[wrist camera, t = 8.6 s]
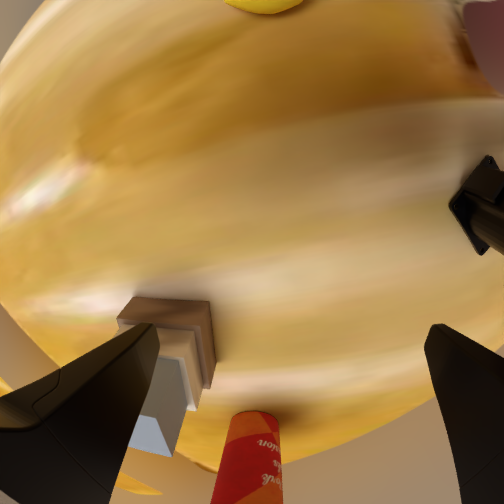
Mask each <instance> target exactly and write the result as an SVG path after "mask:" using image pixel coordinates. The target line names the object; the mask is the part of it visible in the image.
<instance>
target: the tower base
mask: <svg viewBox="0 0 504 504" xmlns="http://www.w3.org/2000/svg"><path fill="white" fill-rule="evenodd" d="M116 319H117V322H118V326H119V330H118V331H117V333H116V334H115V336H114V337H113V338H115V337H116V336H118V335H120V334H122V333H123V332H125V331H127V330H129V329H130V328H132V327H134V326H136V325H137V324H139V323H141V322H151V323H154V324H155V326H156V329H157V333H158V337H159V341H160V351H159V354H158V358H165V359H172V360H179V365H180V371H181V376H182V381H183V386H184V390H185V395H186V400H187V404H188V406H187V409H186V410H190V411H197V408H198V404H199V400H200V397H201V393H202V389H210V387H211V383H212V379H213V375H214V371H215V367H216V357H215V349H214V341H213V333H212V324H211V315H210V306H209V302H207V301H186V300H168V299H153V298H139V297H133V298H132V299H131V300H130V301H129V303H128V304H127V305H126V306H125V308H124V309H123V310H122V311H121V313H120V314H119V315H118V316H117V318H116ZM113 338H112V339H113Z"/></svg>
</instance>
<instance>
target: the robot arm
mask: <svg viewBox="0 0 504 504" xmlns="http://www.w3.org/2000/svg"><path fill="white" fill-rule="evenodd" d="M489 160H490V163H489ZM455 204H456V208H455V209H454V206H455ZM449 208H450V210H451V212H452V213H453V215H454V216H455V218H456V219H457V221H458V223H459V224H460V226H461V227H462V229H463V230H464V232H465V234H466V235H467V237H468V239H469V240H470V242H471V244H472V245H473V247H474V249H475V251H476V252H477V254H479V255H480V256H482V255H483V254H484V253H485V252H486V251H487V250H488V248H489V247H490V246H491V247H492V248H494V249H495V250H497V251H498V252H500V253H501V254H503V255H504V171H500V169H499V168H498V166H497V164H496V162H495V160H494V158H493V157H492V156H489V155H487V156H485V158H484V159H483V160H482V162H481V163H480V165H478V166H477V167H476V169H475V170H474V171H473V173H472V174H471V175H470V177H469V178H468V179H467V181H466V182H465V183H464V185H463V187H462V188H461V190H460V191H459V192H458V193H457V195H456V196H455V197H454V198H453V200H452V201H451V202H450V205H449ZM481 248H482V249H481ZM480 250H481V251H480ZM159 351H160V341H159V337H158V333H157V329H156V326H155V324H154V323H151V322H141V323H139V324H137V325H136V326H134V327H132V328H130V329H129V330H127V331H125V332H123V333H122V334H120V335H118V336H116V337H115V338H113V339H111V340H109V341H107V342H106V343H104V344H102V345H100V346H99V347H97V348H95V349H93V350H91V351H90V352H88V353H86V354H84V355H83V356H81V357H79V358H77V359H75V360H74V361H72V362H70V363H68V364H67V365H65V366H63V367H61V369H60V368H59V369H57V370H56V371H54V372H52V373H50V374H49V375H47V376H45V377H43V378H41V379H39V380H37V381H35V382H33V383H31V384H28V385H26V386H24V387H22V388H20V389H17V390H15V391H13V392H10V393H8V394H6V395H3V396H1V397H0V504H109V501H110V498H111V494H112V491H113V488H114V485H115V482H116V479H117V476H118V473H119V470H120V468H121V464H122V462H123V459H124V456H125V453H126V450H127V447H128V445H129V442H130V439H131V436H132V434H133V431H134V428H135V425H136V423H137V420H138V417H139V415H140V412H141V409H142V407H143V404H144V401H145V399H146V396H147V394H148V391H149V388H150V385H151V381H152V377H153V373H154V369H155V365H156V362H157V358H158V354H159ZM424 351H425V355H426V359H427V363H428V367H429V371H430V375H431V380H432V384H433V387H434V391H435V394H436V397H437V400H438V403H439V406H440V410H441V413H442V416H443V420H444V423H445V427H446V430H447V434H448V438H449V442H450V446H451V450H452V454H453V458H454V463H455V468H456V472H457V477H458V483H459V487H460V495H461V502H462V504H504V358H503V357H501V356H499V355H497V354H496V353H494V352H492V351H491V350H489V349H487V348H486V347H484V346H482V345H480V344H479V343H477V342H475V341H473V340H472V339H470V338H468V337H466V336H464V335H463V334H461V333H459V332H457V331H456V330H454V329H452V328H450V327H448V326H447V325H445V324H434V325H432V326H431V328H430V331H429V333H428V336H427V339H426V341H425V345H424Z"/></svg>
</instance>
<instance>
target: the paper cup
mask: <svg viewBox="0 0 504 504" xmlns="http://www.w3.org/2000/svg"><path fill="white" fill-rule="evenodd" d="M210 504H283V491H282V470H281V452H280V437H279V426H278V422H277V420H276V419H275V418H274V417H273V416H271V415H269V414H267V413H264V412H258V411H247V412H242V413H239V414H237V415H235V416H234V417H233V418H232V420H231V423H230V426H229V430H228V434H227V438H226V442H225V446H224V450H223V454H222V458H221V463H220V467H219V471H218V476H217V479H216V483H215V487H214V491H213V495H212V499H211V503H210Z"/></svg>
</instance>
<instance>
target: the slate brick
mask: <svg viewBox="0 0 504 504" xmlns="http://www.w3.org/2000/svg"><path fill="white" fill-rule="evenodd" d="M187 406H188V404H187V400H186V395H185V390H184V386H183V381H182V376H181V371H180V365H179V360H172V359H165V358H157V362H156V365H155V369H154V373H153V377H152V381H151V385H150V388H149V391H148V394H147V396H146V399H145V401H144V404H143V407H142V409H141V412H140V415H139V417H138V420H137V423H136V425H135V428H134V431H133V434H132V436H131V439H130V442H129V445H128V446H129V447H132V448H136V449H139V450H143V451H148V452H151V453H155V454H160V455H164V456H168V457H172V456H173V453H174V450H175V446H176V443H177V439H178V436H179V433H180V429H181V426H182V423H183V419H184V416H185V413H186V409H187Z"/></svg>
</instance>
